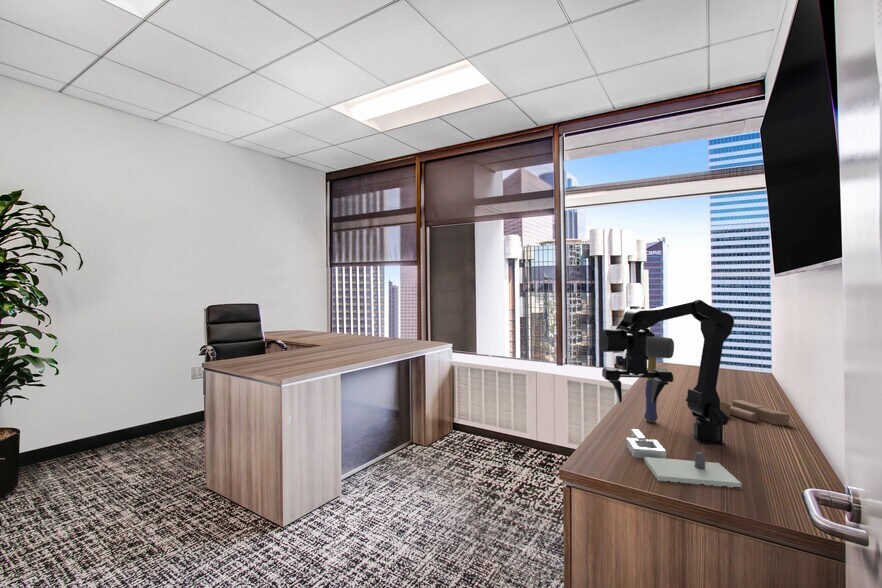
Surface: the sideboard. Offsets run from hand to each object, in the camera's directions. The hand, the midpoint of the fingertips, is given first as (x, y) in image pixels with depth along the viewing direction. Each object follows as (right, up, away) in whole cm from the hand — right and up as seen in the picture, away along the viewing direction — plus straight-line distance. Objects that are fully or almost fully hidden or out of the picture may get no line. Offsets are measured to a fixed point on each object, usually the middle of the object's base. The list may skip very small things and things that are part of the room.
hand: (636, 402), depth 122 cm
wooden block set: (+49, -12, +22) cm, 55 cm away
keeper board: (+3, -12, -21) cm, 24 cm away
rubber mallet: (+14, -12, +19) cm, 26 cm away
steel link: (-1, -12, -5) cm, 13 cm away
